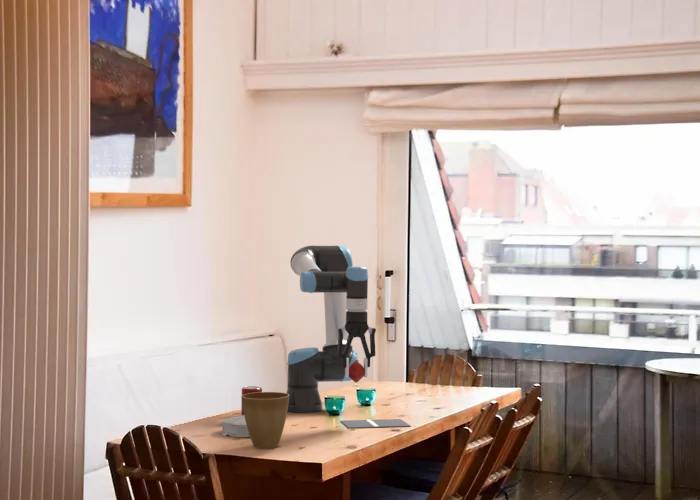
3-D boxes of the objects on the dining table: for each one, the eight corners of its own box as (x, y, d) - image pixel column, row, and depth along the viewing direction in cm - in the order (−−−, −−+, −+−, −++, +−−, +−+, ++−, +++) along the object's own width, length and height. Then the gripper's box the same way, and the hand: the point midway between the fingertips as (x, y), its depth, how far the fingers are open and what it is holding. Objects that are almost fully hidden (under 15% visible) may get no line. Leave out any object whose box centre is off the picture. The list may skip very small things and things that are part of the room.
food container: (213, 430, 340) (213, 410, 340) (270, 426, 346) (270, 407, 346) (226, 442, 321) (226, 420, 321) (286, 437, 328) (286, 416, 328)
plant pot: (268, 440, 320) (269, 390, 320) (298, 447, 309) (299, 395, 309) (231, 446, 310) (231, 394, 310) (260, 453, 299) (261, 399, 299)
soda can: (237, 422, 354) (238, 388, 354) (246, 419, 360) (247, 385, 361) (256, 423, 351) (256, 389, 351) (265, 420, 358) (265, 386, 358)
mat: (348, 428, 343) (348, 427, 343) (340, 421, 356) (340, 420, 356) (410, 426, 347) (410, 425, 347) (400, 420, 361) (400, 418, 361)
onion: (351, 383, 347) (351, 360, 347) (345, 381, 352) (345, 359, 352) (366, 383, 349) (367, 360, 349) (360, 381, 354) (360, 358, 354)
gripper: (332, 311, 345) (331, 378, 345) (385, 311, 349) (384, 377, 349) (328, 310, 352) (327, 376, 352) (380, 310, 356) (379, 375, 356)
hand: (356, 376), depth 350 cm, fingers closed on onion, 6 cm apart
